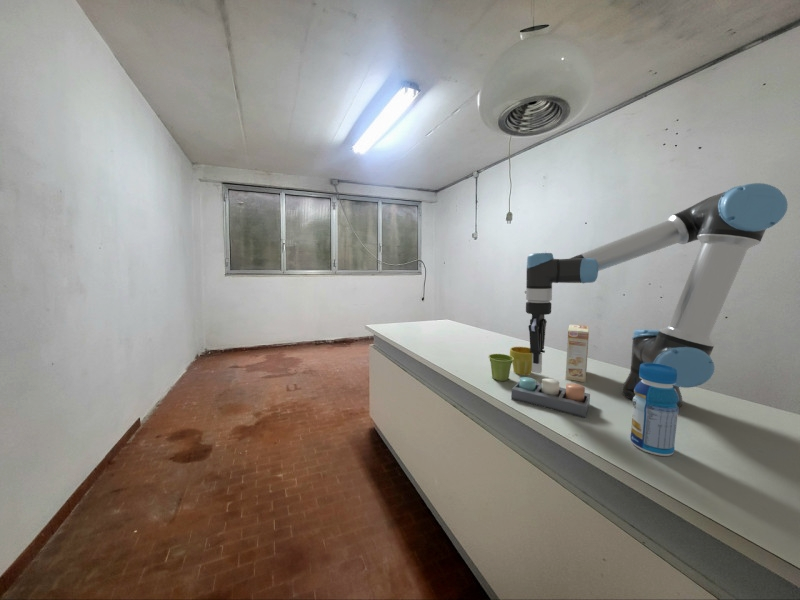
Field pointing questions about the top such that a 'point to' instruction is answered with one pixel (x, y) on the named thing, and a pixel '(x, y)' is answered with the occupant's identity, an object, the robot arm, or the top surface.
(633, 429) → the beverage bottle
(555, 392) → the cream egg
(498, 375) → the plant pot
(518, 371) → the plant pot
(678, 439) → the top surface
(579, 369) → the coffeecake box
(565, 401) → the egg display tray
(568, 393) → the terracotta egg
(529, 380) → the teal egg
